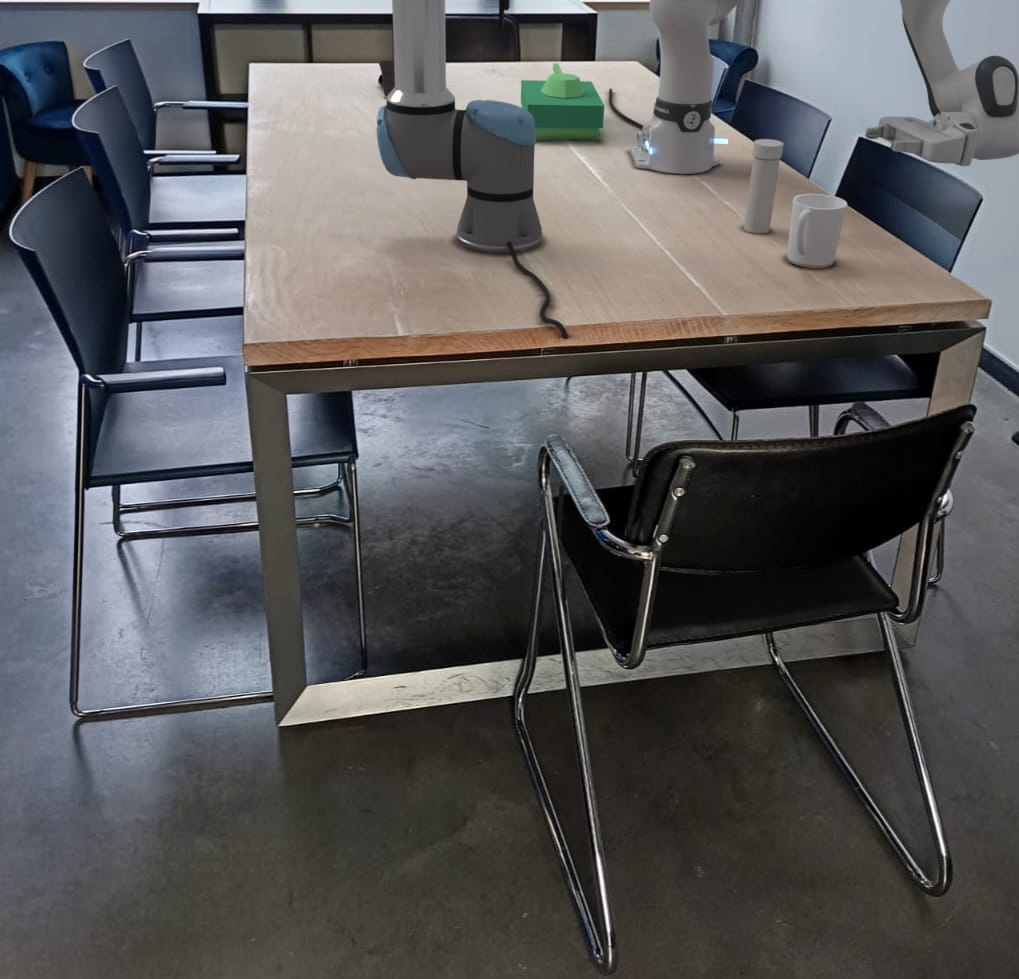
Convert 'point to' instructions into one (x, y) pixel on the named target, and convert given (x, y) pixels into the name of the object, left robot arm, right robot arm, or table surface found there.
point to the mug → (815, 229)
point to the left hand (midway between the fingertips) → (468, 26)
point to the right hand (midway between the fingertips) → (879, 139)
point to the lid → (768, 149)
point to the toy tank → (563, 107)
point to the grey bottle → (761, 195)
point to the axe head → (387, 76)
